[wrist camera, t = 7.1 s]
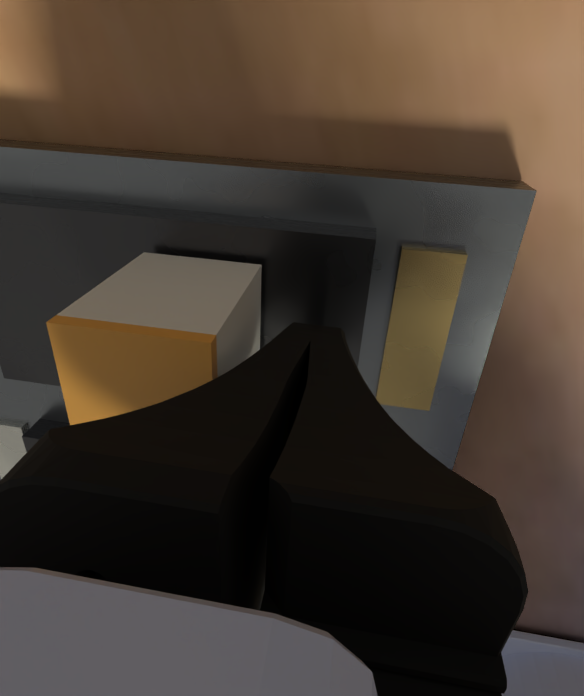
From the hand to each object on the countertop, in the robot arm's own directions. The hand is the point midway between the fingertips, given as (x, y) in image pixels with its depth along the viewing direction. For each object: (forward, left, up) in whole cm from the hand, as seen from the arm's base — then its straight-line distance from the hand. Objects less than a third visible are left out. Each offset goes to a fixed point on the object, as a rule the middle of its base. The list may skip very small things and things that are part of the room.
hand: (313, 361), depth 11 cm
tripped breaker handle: (+3, 0, -1) cm, 3 cm away
